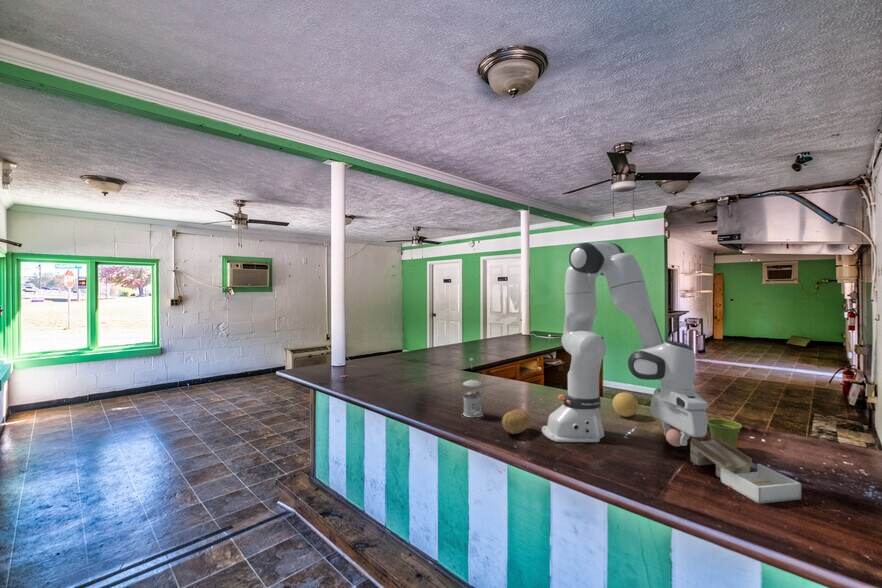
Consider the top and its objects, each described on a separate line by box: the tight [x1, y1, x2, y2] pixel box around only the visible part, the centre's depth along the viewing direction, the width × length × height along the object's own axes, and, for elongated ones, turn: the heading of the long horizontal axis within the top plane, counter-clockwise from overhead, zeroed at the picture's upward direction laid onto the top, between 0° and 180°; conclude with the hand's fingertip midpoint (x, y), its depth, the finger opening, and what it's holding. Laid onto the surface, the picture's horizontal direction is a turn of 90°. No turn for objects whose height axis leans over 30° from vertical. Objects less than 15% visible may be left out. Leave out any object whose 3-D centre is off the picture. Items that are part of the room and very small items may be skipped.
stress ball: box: [612, 392, 640, 418], centre depth 163 cm, size 10×10×10 cm
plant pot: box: [707, 418, 743, 449], centre depth 128 cm, size 9×9×9 cm
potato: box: [501, 408, 531, 435], centre depth 147 cm, size 10×14×8 cm
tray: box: [720, 463, 802, 505], centre depth 103 cm, size 12×11×4 cm
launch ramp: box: [689, 436, 753, 479], centre depth 115 cm, size 9×12×7 cm
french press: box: [462, 357, 484, 418], centre depth 169 cm, size 10×12×25 cm
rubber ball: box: [665, 428, 682, 447], centre depth 117 cm, size 5×5×5 cm
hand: (675, 440), depth 118 cm, fingers closed on rubber ball, 5 cm apart
